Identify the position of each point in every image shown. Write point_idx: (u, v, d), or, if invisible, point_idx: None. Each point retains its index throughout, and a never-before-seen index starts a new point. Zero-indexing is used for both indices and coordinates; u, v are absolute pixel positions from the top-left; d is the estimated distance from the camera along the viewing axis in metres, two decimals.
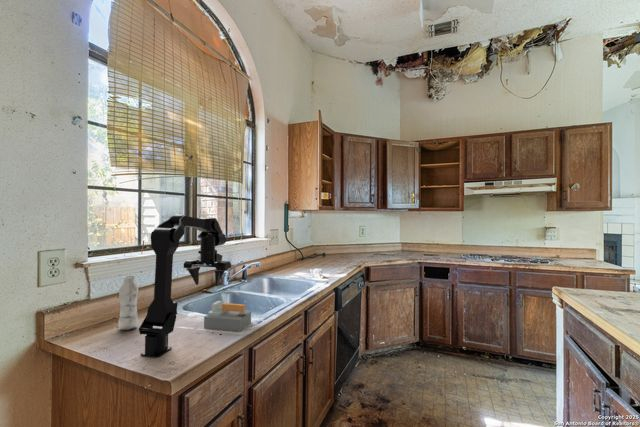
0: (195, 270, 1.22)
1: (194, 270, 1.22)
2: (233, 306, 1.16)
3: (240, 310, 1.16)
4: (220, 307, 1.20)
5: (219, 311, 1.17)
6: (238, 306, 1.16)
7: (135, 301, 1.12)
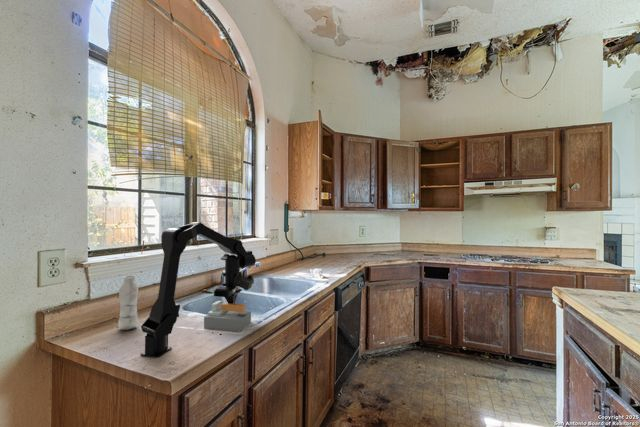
0: None
1: None
2: (233, 306, 1.16)
3: (240, 310, 1.16)
4: (220, 307, 1.20)
5: (219, 311, 1.17)
6: (238, 306, 1.16)
7: (135, 301, 1.12)
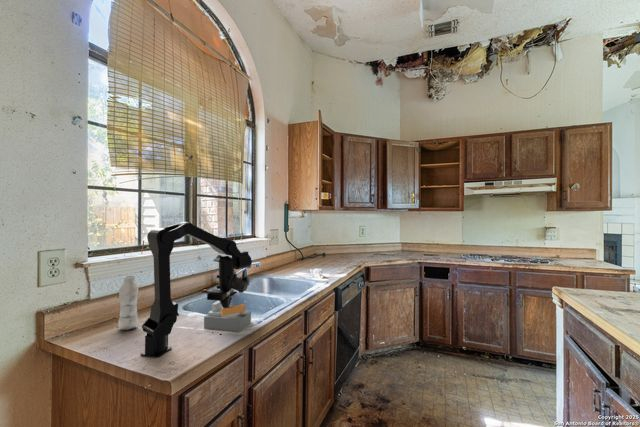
0: None
1: None
2: (235, 308, 1.14)
3: (242, 310, 1.16)
4: (220, 307, 1.20)
5: (219, 311, 1.17)
6: (240, 307, 1.15)
7: (135, 301, 1.12)
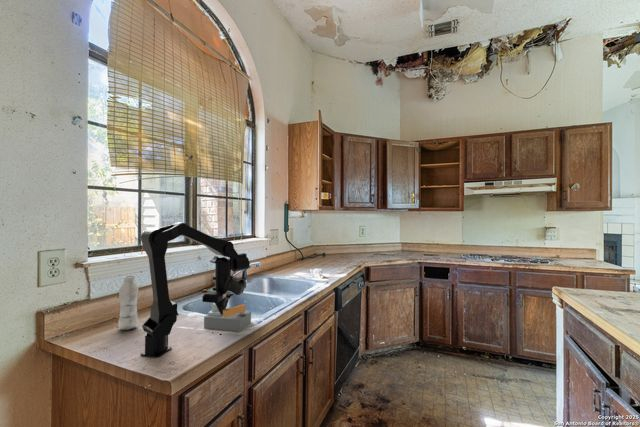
0: None
1: None
2: (236, 309, 1.13)
3: (242, 310, 1.16)
4: None
5: None
6: (241, 307, 1.15)
7: (135, 301, 1.12)
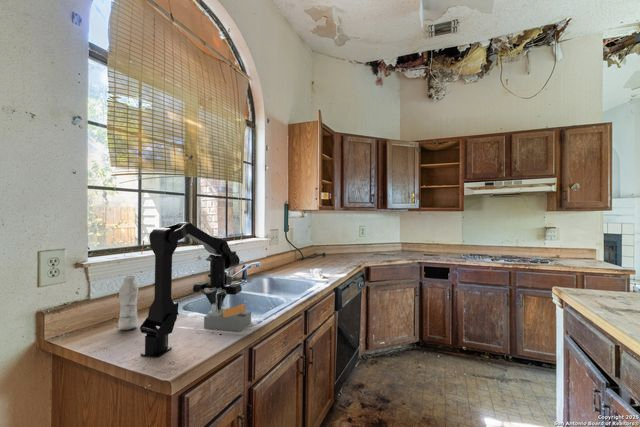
0: (212, 294, 1.18)
1: (211, 294, 1.18)
2: (236, 309, 1.13)
3: (242, 310, 1.16)
4: None
5: (219, 311, 1.17)
6: (241, 307, 1.15)
7: (135, 301, 1.12)
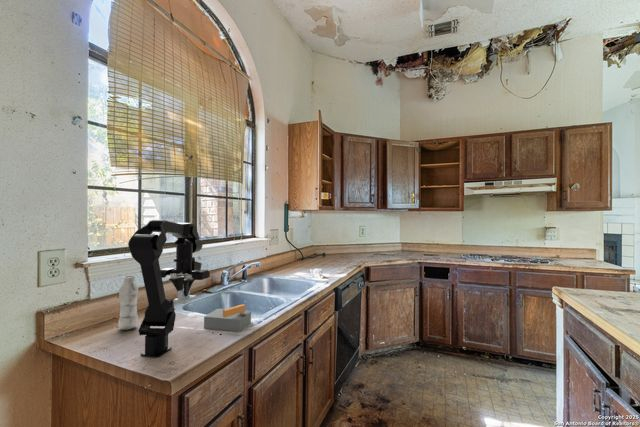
0: (179, 280, 1.12)
1: (178, 280, 1.12)
2: (236, 309, 1.13)
3: (242, 310, 1.16)
4: None
5: (186, 298, 1.11)
6: (241, 307, 1.15)
7: (135, 301, 1.12)
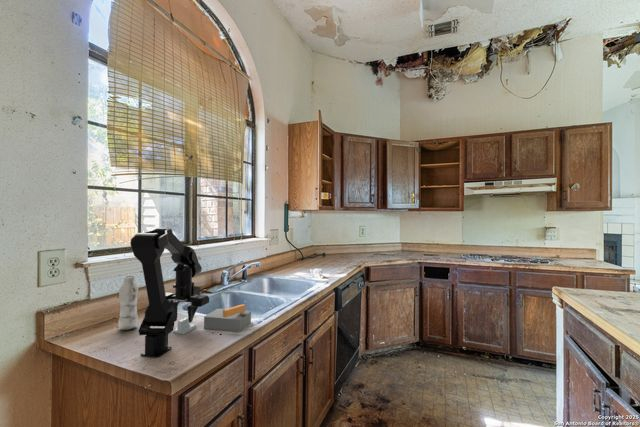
0: (173, 305, 1.13)
1: None
2: (236, 309, 1.13)
3: (242, 310, 1.16)
4: (187, 324, 1.14)
5: (185, 329, 1.11)
6: (241, 307, 1.15)
7: (135, 301, 1.12)
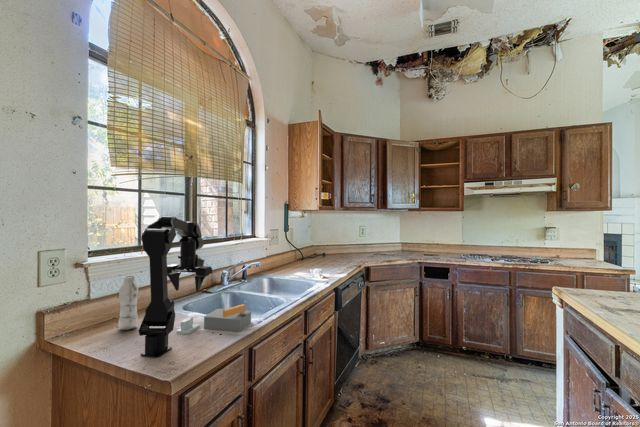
0: (175, 275, 1.19)
1: (174, 275, 1.19)
2: (236, 309, 1.13)
3: (242, 310, 1.16)
4: (190, 324, 1.13)
5: (188, 329, 1.10)
6: (241, 307, 1.15)
7: (135, 301, 1.12)
